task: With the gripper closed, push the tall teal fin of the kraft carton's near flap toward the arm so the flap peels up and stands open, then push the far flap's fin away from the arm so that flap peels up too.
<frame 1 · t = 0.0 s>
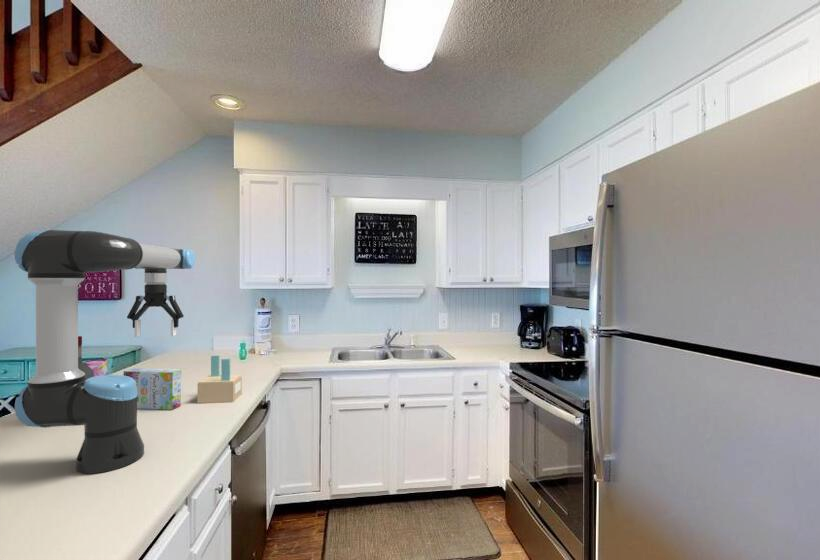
hand: (155, 335, 154), 28 cm above the counter, fingers open, 13 cm apart
flap near: (218, 370, 159), point 13 cm above the counter, hinge at 0.0°
flap far: (222, 367, 164), point 13 cm above the counter, hinge at 0.0°
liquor: (75, 419, 138), on the counter
snack box: (152, 407, 151), on the counter
gum box: (91, 394, 167), on the counter
carton: (220, 398, 162), on the counter
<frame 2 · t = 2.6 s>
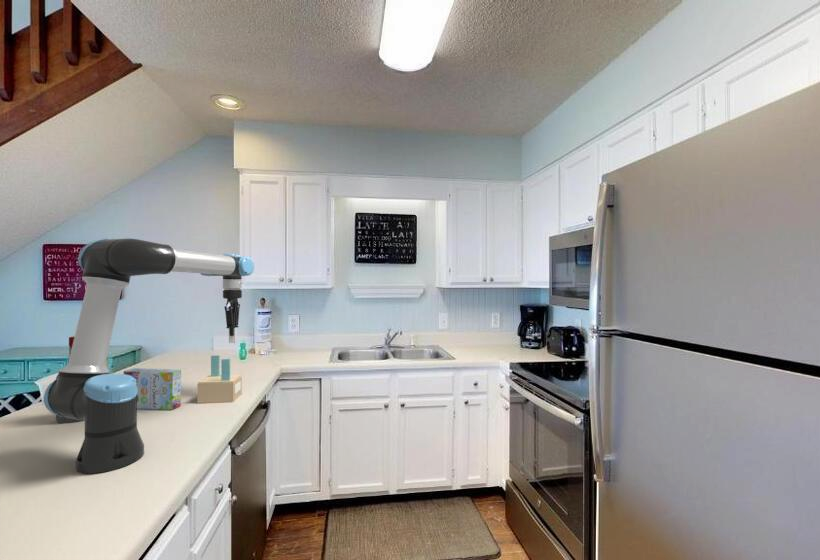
hand: (232, 342, 166), 23 cm above the counter, fingers closed
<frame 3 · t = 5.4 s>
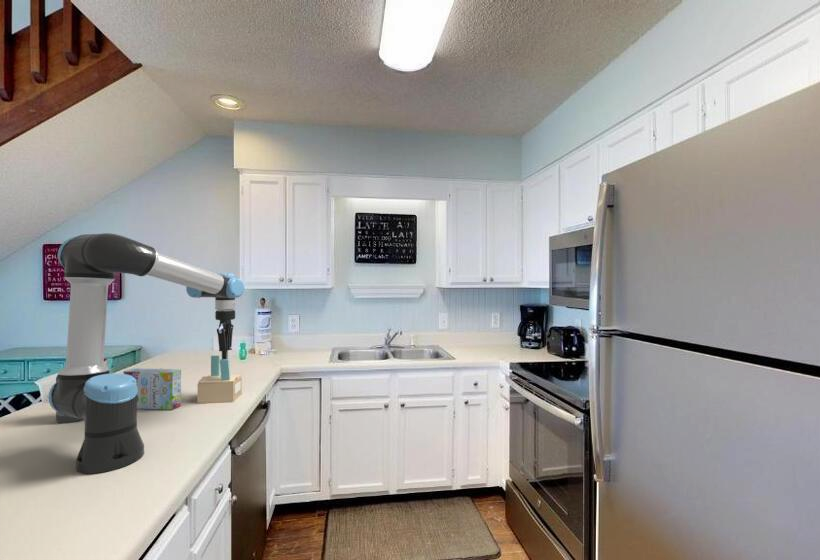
hand: (225, 366, 158), 15 cm above the counter, fingers closed
flap near: (217, 369, 158), point 13 cm above the counter, hinge at 11.6°, touching gripper
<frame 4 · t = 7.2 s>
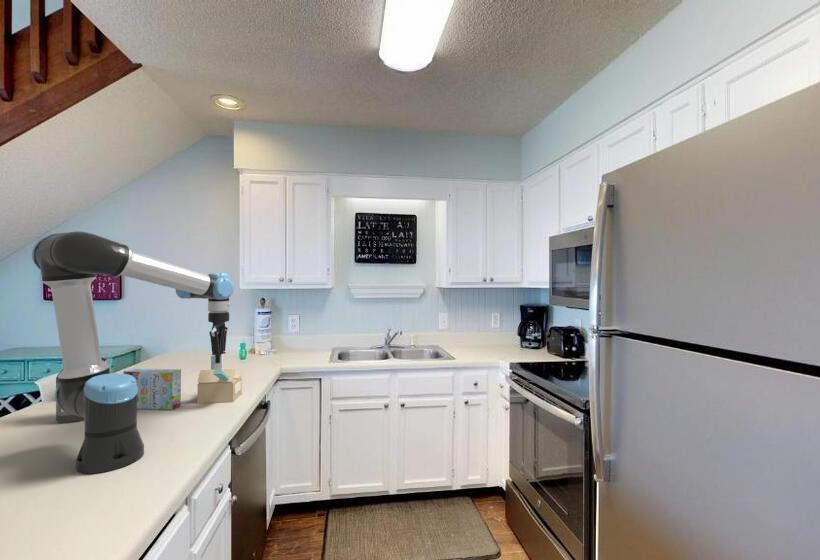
hand: (218, 370, 151), 15 cm above the counter, fingers closed
flap near: (213, 373, 154), point 13 cm above the counter, hinge at 61.5°, touching gripper
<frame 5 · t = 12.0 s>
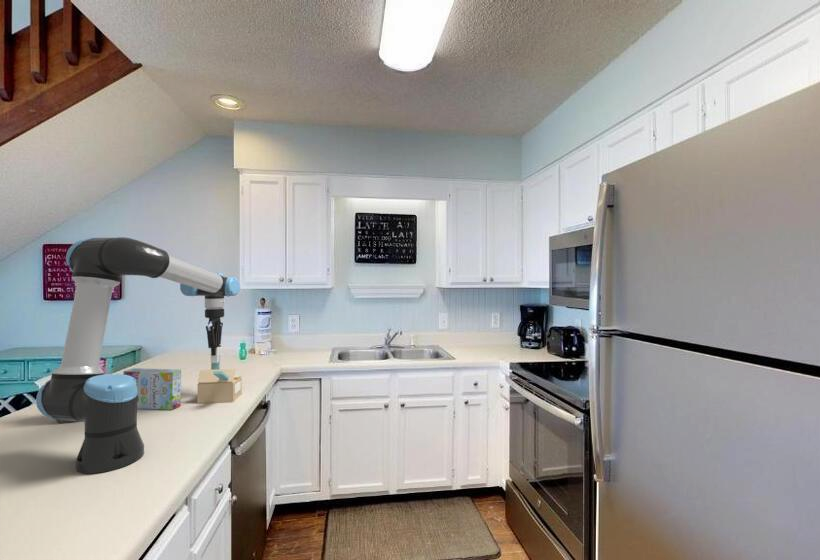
hand: (214, 362, 164), 15 cm above the counter, fingers closed
flap near: (213, 373, 154), point 13 cm above the counter, hinge at 61.6°
flap far: (223, 366, 165), point 13 cm above the counter, hinge at 3.4°, touching gripper
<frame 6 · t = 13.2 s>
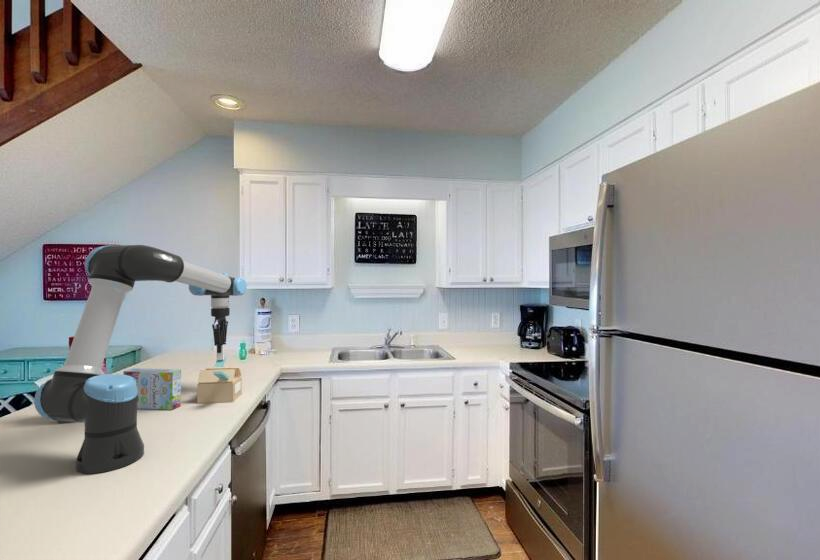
hand: (220, 359, 171), 15 cm above the counter, fingers closed
flap far: (226, 363, 169), point 13 cm above the counter, hinge at 54.1°, touching gripper
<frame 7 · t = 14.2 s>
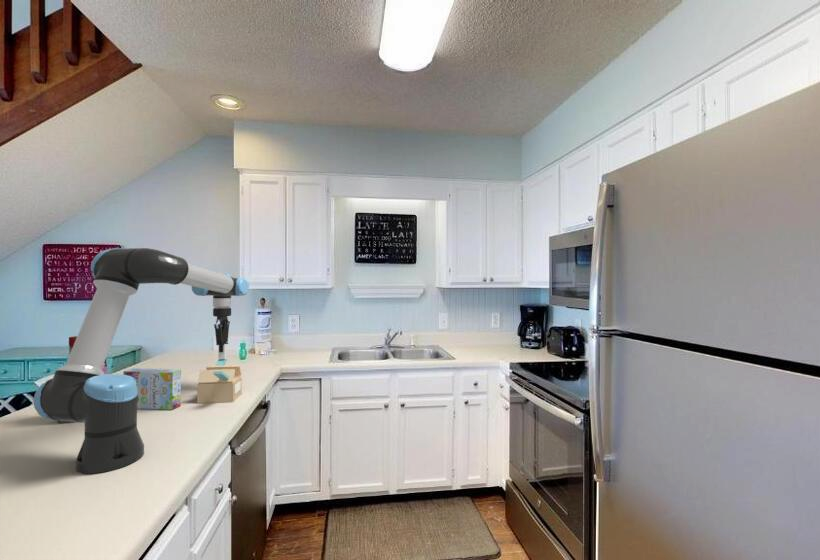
hand: (222, 358, 173), 15 cm above the counter, fingers closed
flap far: (227, 364, 170), point 13 cm above the counter, hinge at 63.1°, touching gripper
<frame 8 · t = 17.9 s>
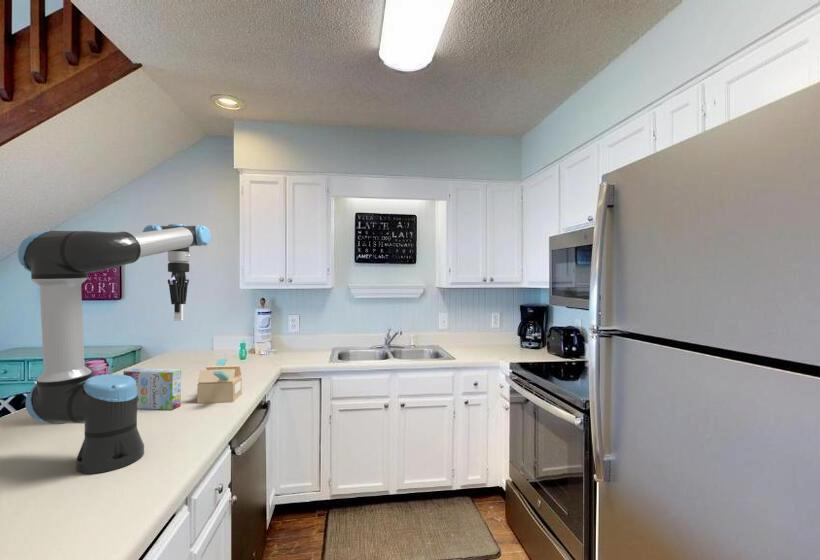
hand: (178, 320, 154), 34 cm above the counter, fingers closed
flap far: (227, 364, 170), point 13 cm above the counter, hinge at 63.2°
at the end: flap near at +62° (first picture: +0°); flap far at +63° (first picture: +0°) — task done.
